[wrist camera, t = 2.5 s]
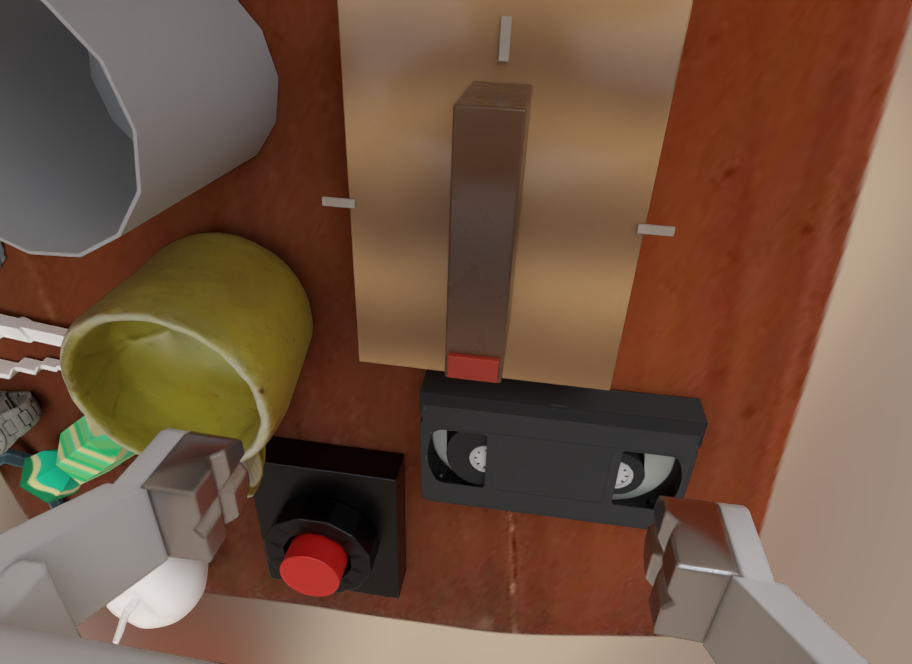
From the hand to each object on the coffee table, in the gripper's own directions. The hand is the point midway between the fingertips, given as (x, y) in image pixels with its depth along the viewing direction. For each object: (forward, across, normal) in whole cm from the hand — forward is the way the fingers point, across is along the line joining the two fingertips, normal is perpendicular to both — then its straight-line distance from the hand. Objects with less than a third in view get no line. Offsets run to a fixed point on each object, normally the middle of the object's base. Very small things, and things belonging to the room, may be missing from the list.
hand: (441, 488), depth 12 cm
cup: (+18, +14, -4) cm, 23 cm away
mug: (+18, +14, +9) cm, 24 cm away
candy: (+18, +24, +17) cm, 34 cm away
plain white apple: (+18, +22, +27) cm, 39 cm away
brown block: (+15, 0, 0) cm, 15 cm away
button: (+14, +9, +22) cm, 28 cm away
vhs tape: (+18, -4, +14) cm, 23 cm away
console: (+18, +9, +22) cm, 30 cm away
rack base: (+18, 0, 0) cm, 18 cm away
